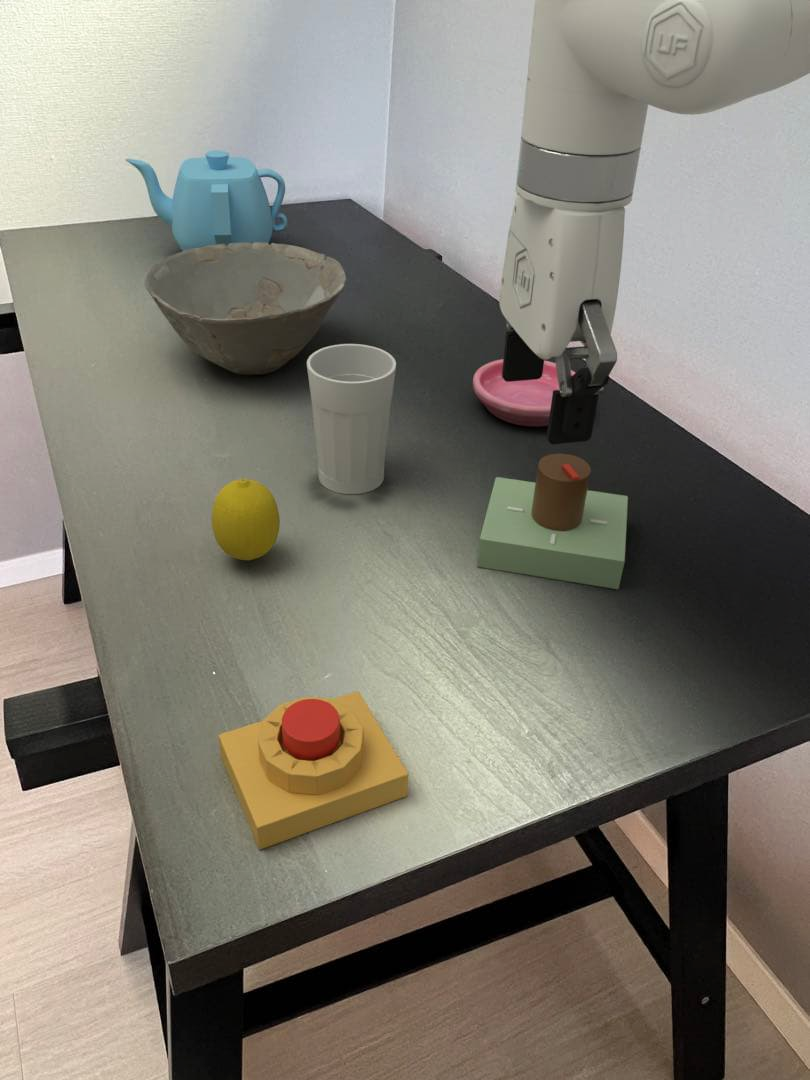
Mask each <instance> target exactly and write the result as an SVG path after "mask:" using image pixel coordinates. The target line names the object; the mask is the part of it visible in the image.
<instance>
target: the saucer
mask: <svg viewBox="0 0 810 1080" xmlns="http://www.w3.org/2000/svg"><path fill="white" fill-rule="evenodd" d="M503 359H504V358H501V359H496V360H493V361H490V362H487V363H486V364H484V365H482V366H480V367H479V368H478V369H477V370H476V371H475V373H474V375H473V377H472V389H473V392H474V394H475V395H476V397H477V398H478V400H479V401H480V402H481V403H482V405H484V406H485V408H486V410H487V411H488V412H489V413H490V414H491V415H493V416H494V417H496V418H497V419H499V420H501V421H504V422H506V423H509V424H513V425H517V426H525V427H548V423H549V416H550V409H551V402H552V395H553V390H559V384H558V377H557V370H556V362H553V361H548V360H544V366H543V373H542V376H541V378H539V379H535V380H523V381H511V382H506V381H505V380H504V379H503V377H502V368H503ZM575 373H576V372H575V371H574V370H572V369H571V375H572V376H573V375H574V374H575Z"/></svg>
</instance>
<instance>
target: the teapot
mask: <svg viewBox="0 0 810 1080" xmlns="http://www.w3.org/2000/svg"><path fill="white" fill-rule="evenodd" d="M204 155H205V156H203V157H190V158H186V159H185V160H183V162H182V163H181V165H180V167H179V170H178V173H177V176H176V181H175V185H174V189H173V194H172V198H171V197H169V196H168V195H166V194H165V193H164V191H163V190H162V188H161V185H160V182H159V179H158V176H157V173H156V171H155V170H154V168H153V167H152V165H151V164H149V163H148V162H145V161H143V160H139V159H134V158H125V159H124V160H125V161H126V162H127V163H129V164H130V165H131V166H133V167H134V168H136V170H137V171H138V172H139V173H140V174H141V176H142V179H143V180H144V182H145V185H146V189H147V193H148V194H147V195H148V197H149V198H148V199H149V201H150V205H151V207H152V209H153V211H154V213H155V214H156V216H157V217H158V218H159V219H160V220H161V221H162V222H163V223H165V224H167V225H169V226H170V227H171V231H172V235H173V237H174V239H175V242H176V243H177V245H178V246H179V248H180V250H181V252H182V251H185V250H188V249H192V248H194V249H196V248H202V247H206V246H209V245H220V244H223V245H225V246H228V244H230V243H241V242H248V243H251V244H253V243H255V242H263V243H268V244H270V241H271V238H272V235H273V232H275V233H279V232H283V231H285V230H286V228H287V226H288V218H287V215H285V214H284V213H283V212H279V211H280V208H281V206H282V203H283V201H284V198H285V193H286V182H285V179H284V178H283V176H281V175H280V174H279V173H278V172H277V171H275V170H274V169H271V168H261V169H260V168H259V169H257V167H256V165H255V164H254V162H253V161H252V160H250V158H247V157H241V156H240V157H238V156H230V153H229V152H228V151H226V150H220V149H217V150H214V149H213V150H208V151H206V152H205V153H204ZM262 178H271V179H273V180H275V181H276V183H277V193H276V196H275V199H274V201H273V204H272V206H271V204H270V202H269V198H268V194H267V191H266V189H265V186H264V184H263V181H262ZM276 219H280V220H281V222H280V223H278V224H277V223H276Z"/></svg>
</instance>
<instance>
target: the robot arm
mask: <svg viewBox="0 0 810 1080" xmlns="http://www.w3.org/2000/svg"><path fill="white" fill-rule="evenodd" d="M533 7H534V8H533V17H532V26H531V27H532V28H531V36H530V37H531V38H530V48H529V57H528V67H527V76H526V85H525V95H524V106H523V107H524V108H523V117H522V126H521V136H520V145H519V152H518V164H517V173H516V183H515V192H516V195H515V200H514V204H513V209H512V213H511V218H510V222H509V223H510V224H509V229H508V235H507V240H506V248H505V253H504V260H503V267H502V274H501V280H500V281H501V282H500V289H499V290H500V291H499V297H498V303H499V304H498V305H499V309H500V312H501V315H502V316H503V317H504V318H505V327H506V329H507V330H508V331H506V332H505V339H504V341H505V342H504V350H503V358H502V359H503V368H502V377H503V379H504V380H505V381H506V382H511V381H523V380H535V379H539V378H541V376H542V373H543V366H544V360H545V361H548V360H551V359H552V358H554V361H555V362H554V363H556V370H557V377H558V384H559V390H553V395H552V402H551V409H550V416H549V423H548V426H547V430H546V440H547V442H548V443H549V444H550V445H562V444H571V443H583V442H587V441H589V440H590V439H591V438H592V435H593V430H594V424H595V420H596V419H595V418H596V412H597V406H598V403H599V395H602V394H603V392H604V388H605V386H606V385H608V383H609V380H610V378H611V377H610V374H611V372H612V371H613V369H614V368H615V365H616V364H617V361H618V352H617V348H616V346H615V343H614V341H613V337H612V330H613V324H614V320H615V314H616V309H617V302H618V294H619V287H620V281H621V280H620V279H621V271H622V261H623V251H624V250H623V249H624V235H625V217H626V208H625V207H626V206H628V205H629V204H631V202H632V200H633V194H634V189H635V183H636V178H637V172H638V165H639V160H640V155H641V149H642V147H641V146H642V143H643V137H644V131H645V125H646V120H647V113H648V110H649V109H648V108H649V106H651V107H653V108H657V109H660V110H662V111H665V112H669V113H673V114H678V115H690V116H691V115H692V116H693V115H703V114H708V113H712V112H715V111H718V110H720V109H723V108H727V107H729V106H732V105H736V104H738V103H740V102H743V101H745V100H747V99H750V98H753V97H756V96H759V95H762V94H766V93H769V92H771V91H774V90H778V89H779V88H782V87H784V86H787V85H789V84H791V83H794V82H795V81H797V80H799V79H801V78H803V77H805V76H807V75H809V74H810V0H534V6H533ZM573 342H580V343H581V344H582V346H572V347H568V346H569V344H570V343H573ZM584 359H585V367H580V368H579V369H578V370H577V371H576V372H575V374H574V375H573V376H572V375H571V370H572V368H571V361H573V360H584Z"/></svg>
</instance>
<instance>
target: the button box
mask: <svg viewBox="0 0 810 1080" xmlns="http://www.w3.org/2000/svg"><path fill="white" fill-rule="evenodd" d="M305 699H319V700H323V701H326V702H328V703H329V704H331V705H332V706H333V707H334V708H335V709H336V710H337V712H338V714H339V717H340V741H339V744H338V746H337V748H336V749H335V750H334V751H333V752H332V753H331V754H330V755H328V756H326V757H324V758H321V759H317V760H303V759H299V758H296V757H294V756H293V755H291V754H290V753H289V752H288V751H287V750H286V749H285V747H284V744H283V737H282V717H283V714H284V712H285V711H286V709H287V708H288V707H290V706H291V705H292V704H294V703H296V702H298V701H301V700H305ZM217 738H218V744H219V745H218V747H219V753H220V758H221V761H222V763H223V766H224V769H225V771H226V773H227V775H228V779H229V780H230V783H231V786H232V788H233V790H234V793H235V794H236V798H237V800H238V802H239V805H240V807H241V810H242V812H243V814H244V817H245V819H246V822H247V823H248V827H249V829H250V831H251V834H252V837H253V839H254V841H255V844H256V846H257V848H258V851H259V850H260V851H261V850H263V849H266V848H269V847H272V846H275V845H277V844H279V843H282V842H286V841H289V840H290V839H293V838H296V837H299V836H302V835H304V834H308V833H309V832H312V831H315V830H318V829H321V828H324V827H326V826H329V825H331V824H335V823H337V822H340V821H342V820H345V819H349V818H350V817H354V816H356V815H359V814H362V813H365V812H367V811H370V810H372V809H375V808H378V807H381V806H384V805H386V804H390V803H392V802H394V801H398V800H400V799H402V798H406V797H407V796H408V788H409V787H408V786H409V773H408V771H407V769H406V767H405V766H404V764H403V763H402V761H401V759H400V758H399V756H398V754H397V752H396V750H395V749H394V747H393V746H392V744H391V742H390V741H389V738H388V737H387V736H386V734H385V732H384V731H383V729H382V728H381V726H380V724H379V722H378V721H377V719H376V717H375V716H374V714H373V712H372V711H371V709H370V708H369V705H368V704H367V702H366V701H365V699H364V697H363V696H362V694H361V692H360V691H359V690H356V691H352V692H350V693H346V694H343V695H341V696H337V697H334V698H328V697H327V698H325V697H315V696H303V697H300V698H297V699H293V700H291V701H287V702H284V703H282V704H281V703H280V705H278V706H277V707H276V708H275V709H274V710H273V711H272V712H270V713H269V714H268V715H267V716H266V717H265V718H264V719H263V720H260V721H258V722H254V723H250V724H248V725H244V726H241V727H238V728H235V729H232V730H229V731H225V732H222V733H220V734H218V735H217Z"/></svg>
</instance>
